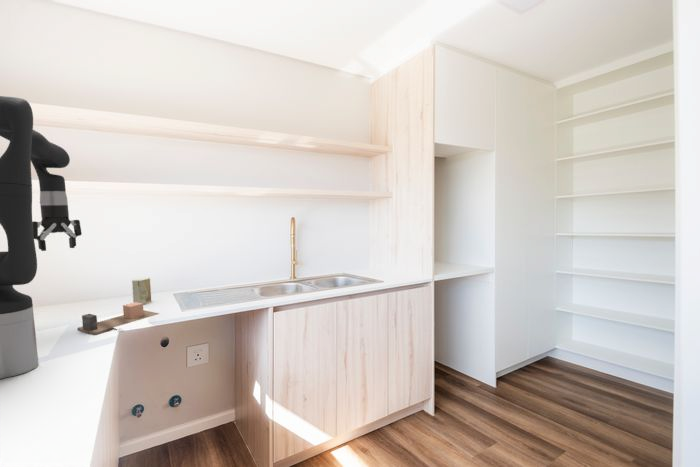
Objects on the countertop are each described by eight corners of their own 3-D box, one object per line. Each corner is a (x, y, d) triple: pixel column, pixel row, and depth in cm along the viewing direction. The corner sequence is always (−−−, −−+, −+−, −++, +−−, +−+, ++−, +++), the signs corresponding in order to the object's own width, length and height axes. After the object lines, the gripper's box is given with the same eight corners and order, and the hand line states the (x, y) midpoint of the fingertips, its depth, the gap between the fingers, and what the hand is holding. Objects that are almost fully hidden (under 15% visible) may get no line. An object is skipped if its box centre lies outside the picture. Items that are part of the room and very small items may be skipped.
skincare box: (141, 307, 156) (139, 280, 155) (133, 307, 156) (131, 280, 155) (152, 303, 162) (150, 277, 161) (144, 303, 163) (142, 277, 162)
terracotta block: (131, 319, 137) (130, 306, 136) (123, 317, 139) (123, 305, 139) (143, 315, 141) (142, 303, 141) (136, 313, 143) (135, 302, 143)
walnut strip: (94, 335, 122) (93, 319, 122) (77, 329, 128) (76, 314, 128) (159, 315, 143) (158, 301, 143) (142, 311, 149) (141, 298, 149)
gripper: (33, 204, 117) (38, 252, 118) (82, 204, 129) (86, 247, 130) (24, 204, 120) (28, 251, 121) (72, 204, 133) (76, 246, 134)
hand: (58, 249), depth 126 cm, fingers open, 8 cm apart
